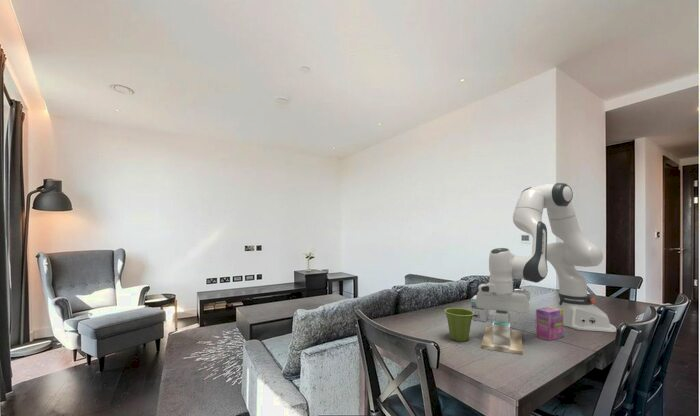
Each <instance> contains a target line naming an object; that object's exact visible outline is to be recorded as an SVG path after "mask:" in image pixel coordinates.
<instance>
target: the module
mask: <svg viewBox="0 0 700 416" xmlns="http://www.w3.org/2000/svg"><path fill="white" fill-rule="evenodd" d="M495 313H496V321H498V322H506V323H508V314H509V312H508V311H498V310H495Z"/></svg>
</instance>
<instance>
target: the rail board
mask: <svg viewBox="0 0 700 416" xmlns="http://www.w3.org/2000/svg"><path fill="white" fill-rule="evenodd" d="M511 321H512V320H511V314H510V313H508V323H506V322H498V321H496V312H494V321H492V326H485V330H484V334H483V338H482V341H481V345H480V347H481V349H484V350H491V351H496V352H497V351H498V352H504V353H508V354H509V353H510V354H514V355H515V354H516V355H520V356H523V352H524V350H523V337H522V330H517V329H511V327H512V326H511V325H512V323H511Z"/></svg>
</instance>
